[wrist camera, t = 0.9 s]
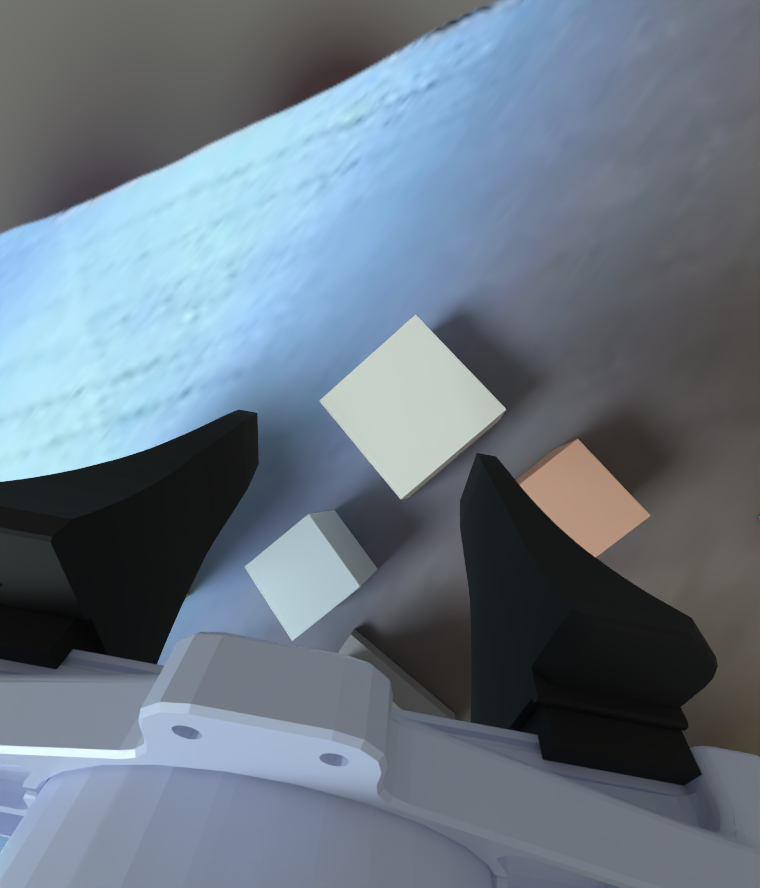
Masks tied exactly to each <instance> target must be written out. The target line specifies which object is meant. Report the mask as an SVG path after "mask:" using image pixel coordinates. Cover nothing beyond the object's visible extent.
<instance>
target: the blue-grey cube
mask: <svg viewBox="0 0 760 888" xmlns="http://www.w3.org/2000/svg"><path fill="white" fill-rule="evenodd" d="M245 569H246V570H247V572H248V573H249V575H250V576H251V578H252V579H253V581H254V583H255V584H256V586H257V587H258V589H259V590H260V592H261V593H262V595H263V596H264V598H265V600H266V601H267V603H268V604H269V606H270V607H271V609H272V610H273V612H274V613H275V615H276V617H277V618H278V620H279V621H280V623H281V624H282V626H283V627H284V629H285V630H286V632H287V633H288V635H289V637H290V638H291V640H292V641H293V640H294V639H295V638H296V637H298V636H299V635H300V634H301V633H303V632H304V631H305V630H306V629H308V628H309V627H310V626H311V625H313V624H314V623H315V622H316V621H318V620H319V619H320V618H322V617H323V616H324V615H325V614H327V613H328V612H329V611H330V610H332V609H333V608H334V607H335V606H337V605H338V604H339V603H340V602H342V601H343V600H344V599H345V598H347V597H348V596H349V595H350V594H352V593H353V592H354V591H355V590H357V589H358V588H359V587H360V586H361V585H362V584H363V583H364V582H365V581H366V580H367V579H368V578H369V577H370V576H371V575H372V574H373V573H374V572H375V571H376V570H377V567H376V566H375V565H374V563H373V562H372V560H371V559H370V558H369V556H368V555H367V554H366V552H365V551H364V550H363V548H362V547H361V545H360V544H359V543H358V541H357V540H356V539H355V537H354V536H353V535H352V533H351V532H350V531H349V529H348V528H347V526H346V525H345V524H344V522H343V521H342V520H341V518H340V517H339V516H338V514H337V513H336V511H335V510H331V511H324V512H318V513H312V514H308V515H307V516H306V517H304V518H303V519H302V520H301V521H299V522H298V523H297V524H296V525H295V526H293V527H292V528H291V529H290V530H289V531H287V532H286V533H285V534H284V535H282V536H281V537H280V538H279V539H278V540H276V541H275V542H274V543H273V544H272V545H270V546H269V547H268V548H267V549H265V550H264V551H263V552H262V553H261V554H259V555H258V556H257V557H256V558H255V559H253V560H252V561H251V562H250V563H248V564H247V565H246V566H245Z"/></svg>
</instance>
